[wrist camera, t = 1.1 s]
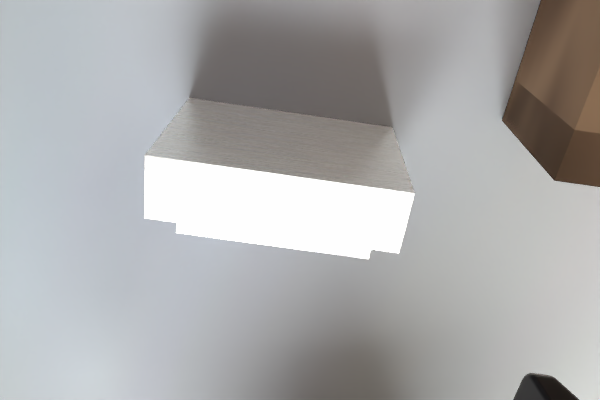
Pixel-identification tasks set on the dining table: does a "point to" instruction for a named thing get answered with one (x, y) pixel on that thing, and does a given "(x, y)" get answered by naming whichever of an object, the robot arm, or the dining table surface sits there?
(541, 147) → the arena
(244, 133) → the white stepped block
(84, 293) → the dining table surface
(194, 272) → the dining table surface
